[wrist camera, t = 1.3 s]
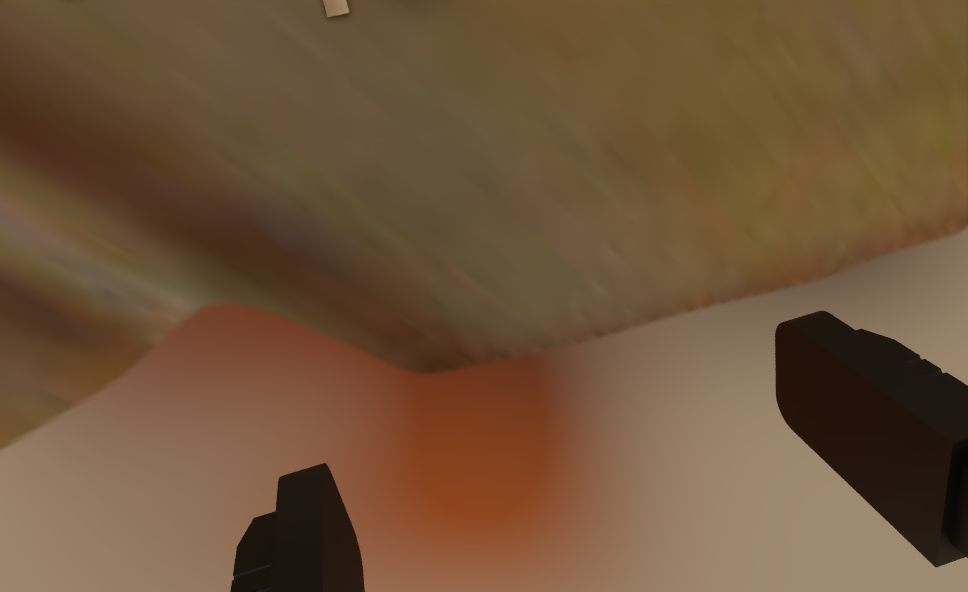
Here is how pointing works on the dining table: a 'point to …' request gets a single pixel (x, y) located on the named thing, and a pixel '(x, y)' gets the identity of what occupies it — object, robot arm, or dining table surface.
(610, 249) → the dining table surface
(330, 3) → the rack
